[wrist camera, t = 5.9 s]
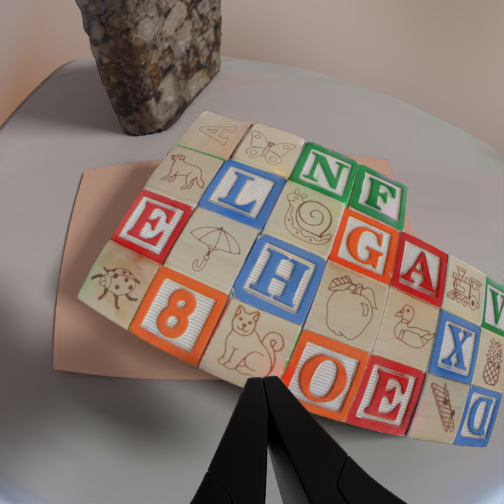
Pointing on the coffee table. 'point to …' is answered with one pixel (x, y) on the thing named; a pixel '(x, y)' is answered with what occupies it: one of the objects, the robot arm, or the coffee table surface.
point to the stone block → (153, 56)
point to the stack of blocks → (304, 285)
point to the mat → (82, 260)
